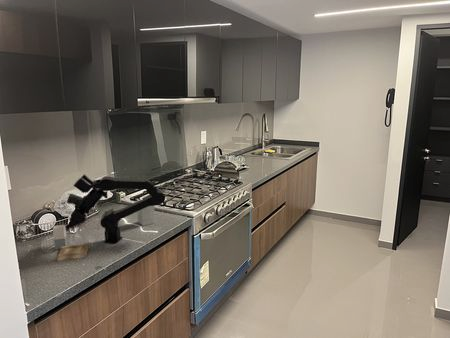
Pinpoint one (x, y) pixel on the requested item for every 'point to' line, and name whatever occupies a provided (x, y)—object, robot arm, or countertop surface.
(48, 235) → the countertop surface
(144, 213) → the supplement box
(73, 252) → the wooden tray
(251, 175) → the countertop surface
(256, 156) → the countertop surface
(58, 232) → the plain gray box
